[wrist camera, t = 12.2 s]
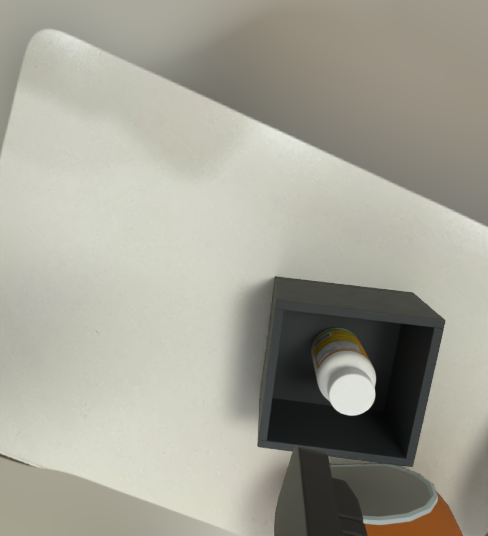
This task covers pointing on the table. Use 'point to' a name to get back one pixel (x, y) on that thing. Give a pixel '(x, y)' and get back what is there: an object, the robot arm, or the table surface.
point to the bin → (379, 353)
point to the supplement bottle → (343, 371)
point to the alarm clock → (397, 501)
